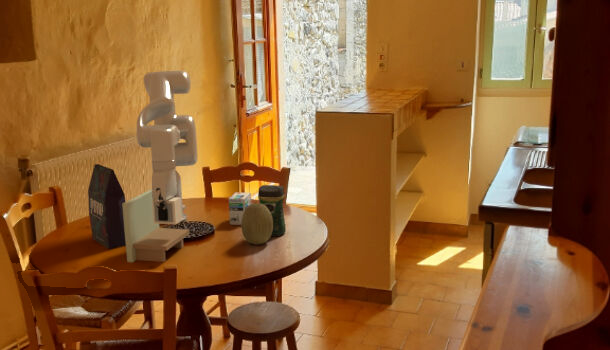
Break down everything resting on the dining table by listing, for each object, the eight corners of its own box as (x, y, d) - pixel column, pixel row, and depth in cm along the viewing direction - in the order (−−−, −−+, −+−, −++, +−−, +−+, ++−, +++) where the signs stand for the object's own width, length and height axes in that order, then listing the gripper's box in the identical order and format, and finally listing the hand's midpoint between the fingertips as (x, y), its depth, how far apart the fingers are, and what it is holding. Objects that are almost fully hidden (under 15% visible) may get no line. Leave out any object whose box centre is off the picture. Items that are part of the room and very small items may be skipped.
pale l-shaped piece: (155, 242, 217) (151, 189, 212) (191, 244, 214) (188, 190, 209) (127, 261, 198) (122, 203, 193) (166, 264, 195) (162, 205, 190)
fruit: (253, 236, 222) (252, 197, 218) (279, 240, 216) (278, 201, 213) (235, 245, 212) (234, 205, 209) (262, 250, 207) (261, 208, 203)
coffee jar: (287, 231, 228) (286, 183, 224) (281, 237, 220) (280, 188, 216) (263, 229, 230) (262, 182, 226) (256, 235, 223) (255, 187, 218)
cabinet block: (160, 219, 206) (159, 196, 204) (182, 220, 204) (180, 197, 202) (153, 223, 201) (151, 200, 199) (175, 224, 199) (174, 201, 197)
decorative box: (108, 249, 210) (101, 171, 204) (90, 238, 222) (83, 165, 216) (130, 244, 215) (124, 168, 209) (111, 234, 227) (105, 161, 221)
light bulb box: (245, 225, 236) (244, 199, 233) (229, 224, 237) (228, 198, 234) (252, 217, 246) (251, 192, 244) (236, 217, 247) (235, 192, 245)
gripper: (165, 160, 207) (168, 210, 211) (140, 170, 191) (145, 224, 195) (185, 160, 205) (188, 211, 209) (162, 170, 189) (166, 225, 193)
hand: (167, 217), depth 202 cm, fingers closed on cabinet block, 5 cm apart
